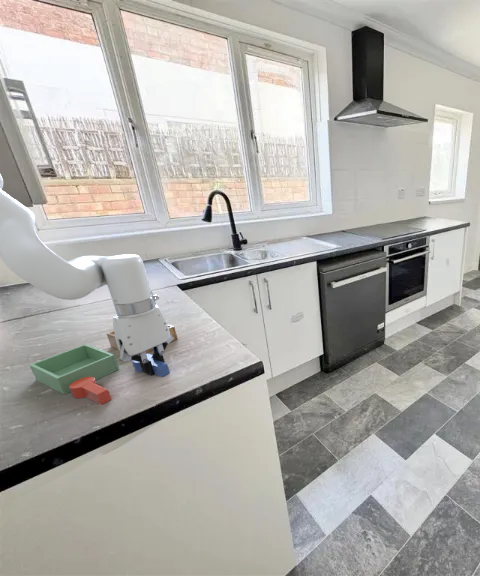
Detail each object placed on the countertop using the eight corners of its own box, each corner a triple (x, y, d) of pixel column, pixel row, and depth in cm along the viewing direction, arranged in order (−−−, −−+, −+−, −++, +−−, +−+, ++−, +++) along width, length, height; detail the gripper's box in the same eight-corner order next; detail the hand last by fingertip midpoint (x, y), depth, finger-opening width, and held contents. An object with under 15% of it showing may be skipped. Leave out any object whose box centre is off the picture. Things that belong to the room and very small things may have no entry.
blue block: (174, 370, 81) (172, 361, 80) (157, 379, 77) (154, 370, 76) (149, 361, 85) (146, 352, 84) (131, 369, 81) (128, 360, 80)
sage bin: (64, 394, 72) (57, 378, 71) (36, 380, 78) (29, 364, 76) (119, 369, 82) (114, 354, 80) (90, 357, 87) (85, 343, 86)
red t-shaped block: (117, 396, 71) (114, 386, 70) (94, 408, 67) (90, 398, 66) (92, 384, 76) (88, 374, 75) (69, 395, 72) (65, 385, 71)
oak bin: (138, 356, 87) (134, 342, 86) (111, 346, 93) (106, 333, 91) (177, 339, 97) (174, 326, 95) (150, 331, 103) (146, 318, 101)
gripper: (160, 293, 83) (176, 353, 89) (86, 316, 69) (111, 384, 75) (178, 297, 80) (193, 358, 86) (104, 321, 66) (129, 392, 72)
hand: (155, 370), depth 80 cm, fingers closed on blue block, 2 cm apart
